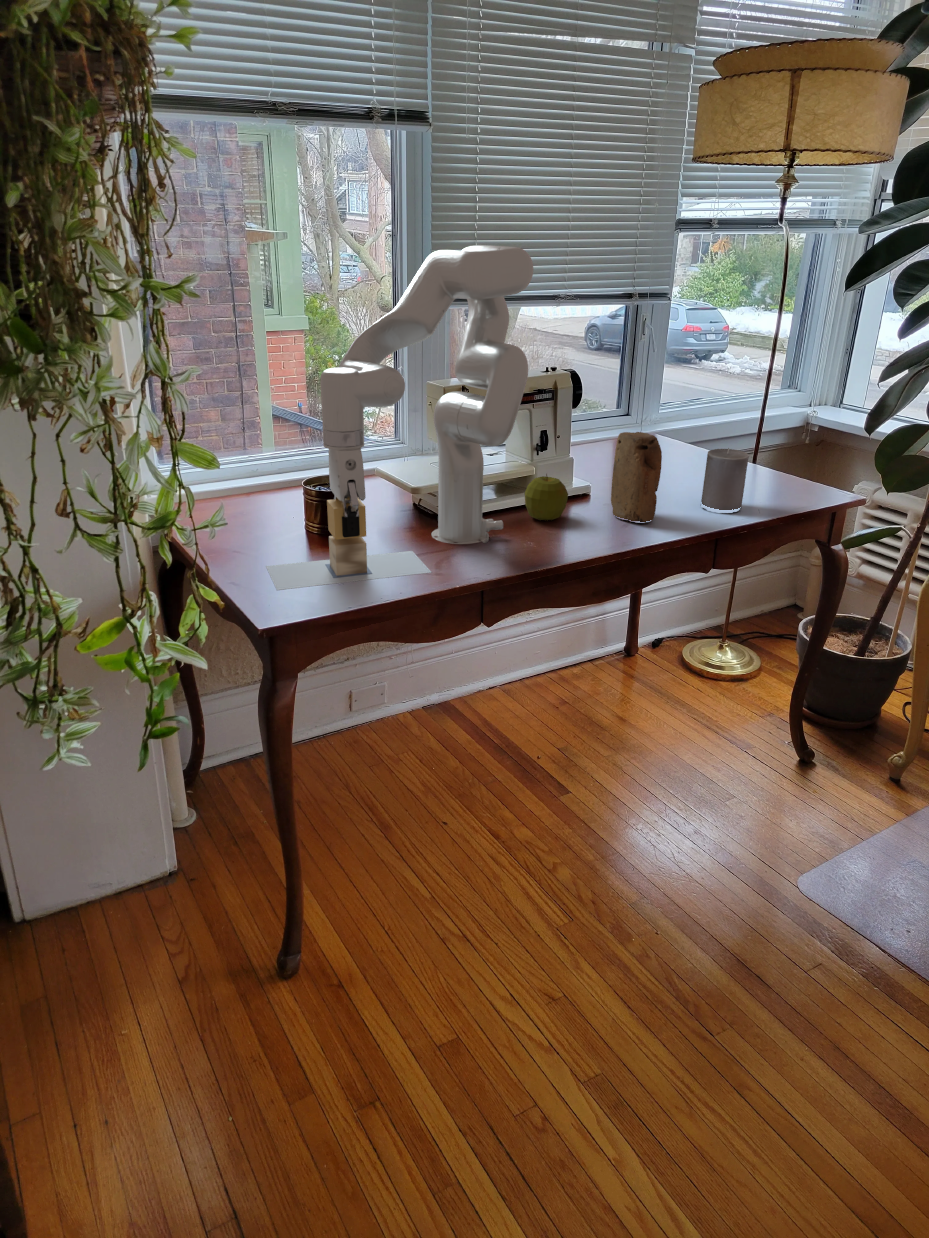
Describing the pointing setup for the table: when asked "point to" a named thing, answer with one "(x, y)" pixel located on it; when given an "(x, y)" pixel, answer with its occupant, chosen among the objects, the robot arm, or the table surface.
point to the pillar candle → (724, 479)
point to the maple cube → (348, 555)
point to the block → (636, 476)
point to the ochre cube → (336, 518)
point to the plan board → (324, 574)
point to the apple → (545, 498)
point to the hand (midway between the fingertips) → (347, 530)
